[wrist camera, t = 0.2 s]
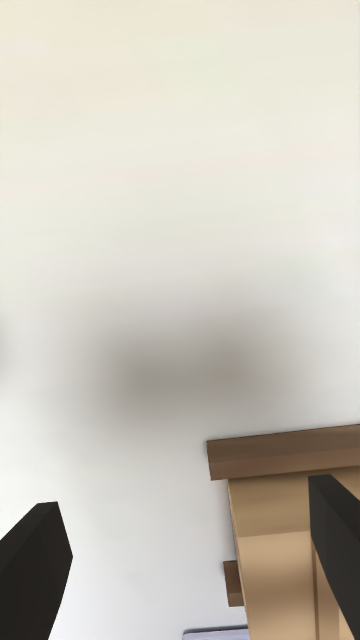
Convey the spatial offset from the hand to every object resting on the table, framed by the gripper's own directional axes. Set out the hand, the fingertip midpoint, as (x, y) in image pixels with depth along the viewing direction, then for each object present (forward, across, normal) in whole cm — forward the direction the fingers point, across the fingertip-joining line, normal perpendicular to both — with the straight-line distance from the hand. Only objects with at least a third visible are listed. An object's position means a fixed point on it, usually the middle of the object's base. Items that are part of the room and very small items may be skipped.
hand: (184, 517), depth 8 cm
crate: (+10, -6, +10) cm, 16 cm away
